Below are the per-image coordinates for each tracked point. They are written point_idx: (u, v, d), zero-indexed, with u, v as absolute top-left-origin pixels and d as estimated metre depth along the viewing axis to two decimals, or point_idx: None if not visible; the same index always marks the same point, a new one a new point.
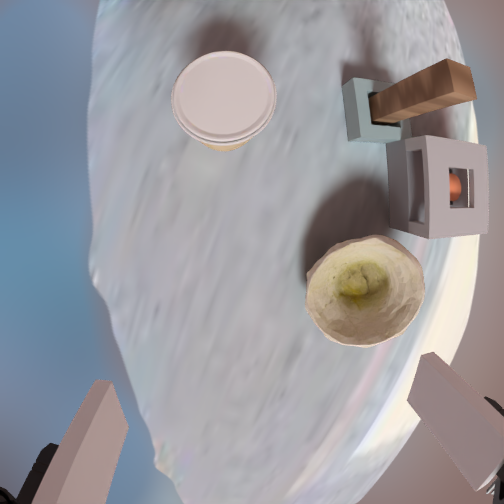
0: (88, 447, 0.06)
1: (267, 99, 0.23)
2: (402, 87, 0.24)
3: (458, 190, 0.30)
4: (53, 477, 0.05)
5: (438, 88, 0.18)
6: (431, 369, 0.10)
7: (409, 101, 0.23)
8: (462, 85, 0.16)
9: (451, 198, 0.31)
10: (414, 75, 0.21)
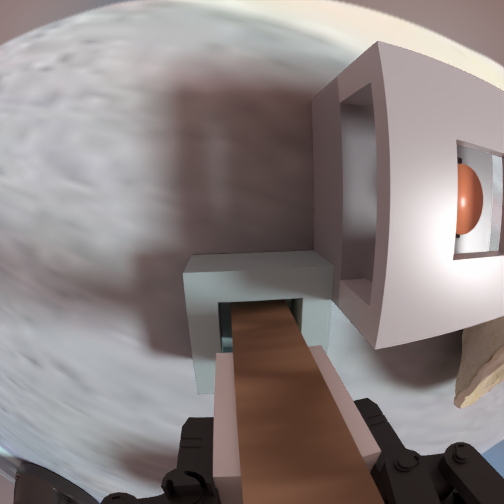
0: None
1: None
2: None
3: (468, 176, 0.11)
4: (224, 442, 0.07)
5: None
6: None
7: None
8: None
9: (479, 206, 0.12)
10: None
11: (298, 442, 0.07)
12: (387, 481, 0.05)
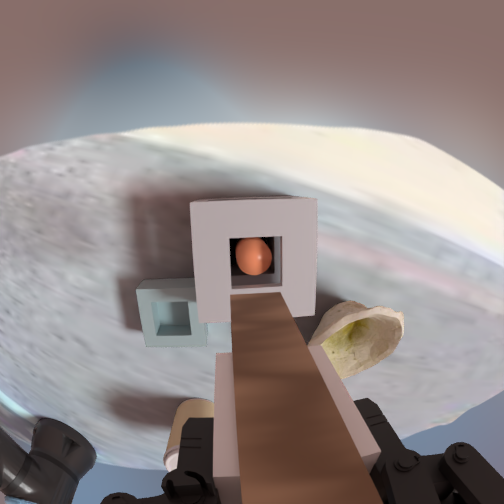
0: None
1: None
2: None
3: (257, 246, 0.30)
4: (224, 442, 0.07)
5: None
6: None
7: None
8: None
9: (268, 260, 0.30)
10: None
11: (298, 443, 0.07)
12: (387, 481, 0.05)
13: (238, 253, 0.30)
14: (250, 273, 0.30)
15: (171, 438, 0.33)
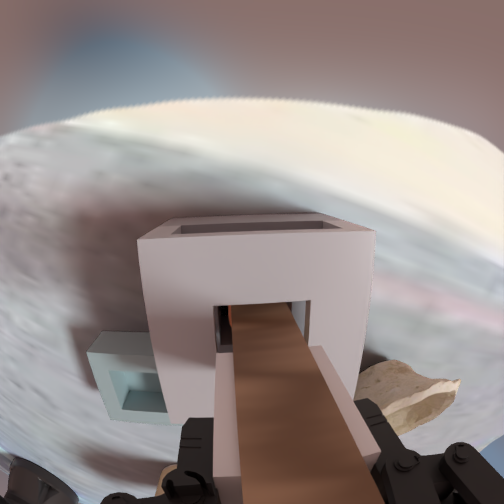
0: None
1: None
2: None
3: None
4: (224, 442, 0.07)
5: None
6: None
7: None
8: None
9: None
10: None
11: (299, 442, 0.07)
12: (387, 481, 0.05)
13: None
14: None
15: None
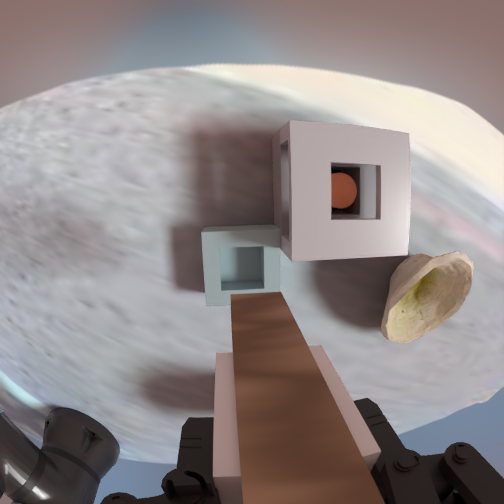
0: None
1: None
2: None
3: (344, 178, 0.28)
4: (224, 442, 0.07)
5: None
6: None
7: None
8: None
9: (353, 193, 0.28)
10: None
11: (299, 443, 0.07)
12: (387, 482, 0.05)
13: None
14: (336, 206, 0.28)
15: None
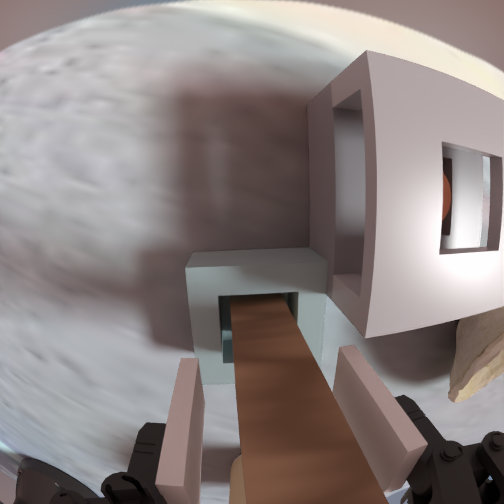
0: (193, 418, 0.09)
1: None
2: None
3: None
4: (172, 450, 0.07)
5: None
6: (346, 361, 0.11)
7: None
8: None
9: (447, 201, 0.15)
10: None
11: (294, 419, 0.08)
12: (433, 470, 0.05)
13: None
14: None
15: None
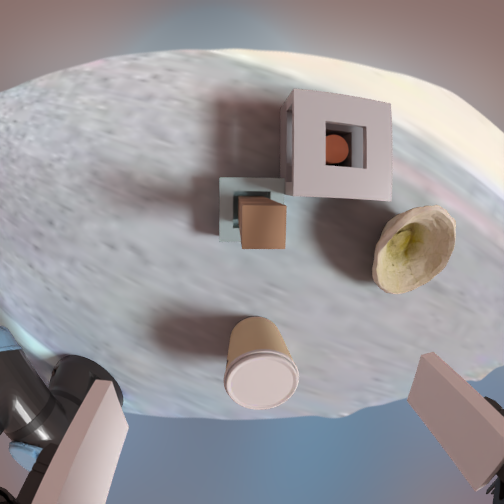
0: (88, 447, 0.06)
1: (270, 360, 0.32)
2: None
3: (338, 139, 0.33)
4: (53, 477, 0.05)
5: None
6: (431, 369, 0.10)
7: None
8: (273, 230, 0.22)
9: (345, 151, 0.33)
10: None
11: None
12: None
13: None
14: (331, 160, 0.34)
15: (234, 351, 0.35)
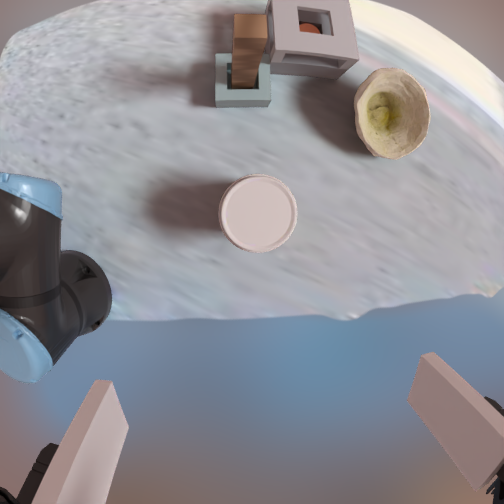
0: (88, 447, 0.06)
1: (265, 181, 0.33)
2: (239, 66, 0.30)
3: (310, 26, 0.34)
4: (53, 477, 0.05)
5: (257, 46, 0.25)
6: (431, 369, 0.10)
7: (254, 64, 0.30)
8: (258, 27, 0.22)
9: None
10: (234, 58, 0.28)
11: None
12: None
13: None
14: None
15: None
